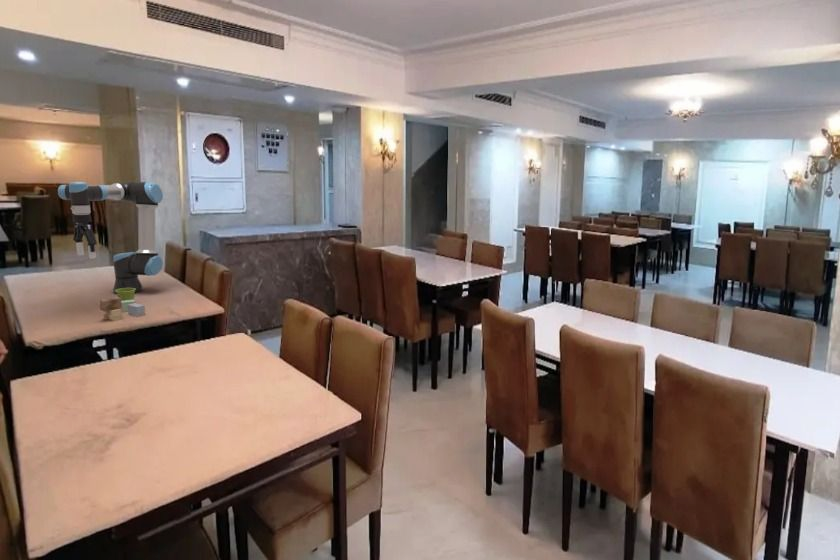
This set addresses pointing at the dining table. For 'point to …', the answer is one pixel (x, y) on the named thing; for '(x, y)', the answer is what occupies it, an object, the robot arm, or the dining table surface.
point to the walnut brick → (110, 304)
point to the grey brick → (136, 309)
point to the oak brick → (112, 315)
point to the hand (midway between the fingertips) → (86, 256)
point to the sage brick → (126, 305)
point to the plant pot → (126, 293)
